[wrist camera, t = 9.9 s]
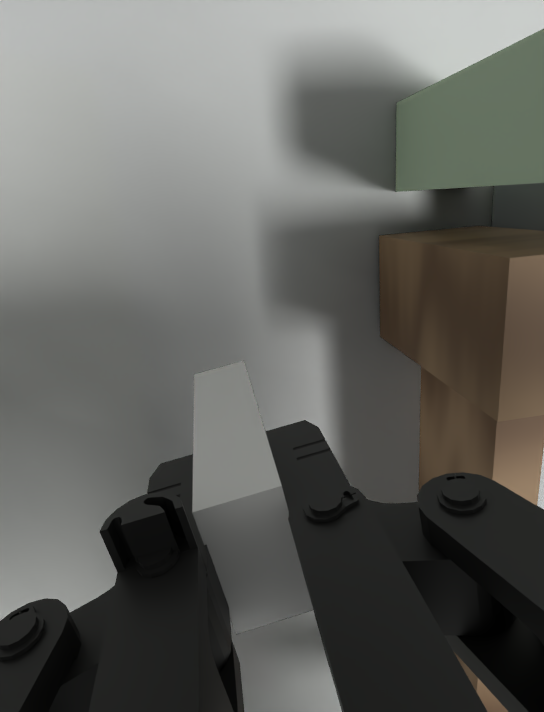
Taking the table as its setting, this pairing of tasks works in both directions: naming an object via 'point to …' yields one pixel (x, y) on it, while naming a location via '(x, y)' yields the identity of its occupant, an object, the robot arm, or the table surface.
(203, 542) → the robot arm
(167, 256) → the table surface
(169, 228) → the table surface
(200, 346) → the table surface
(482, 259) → the wooden mallet
